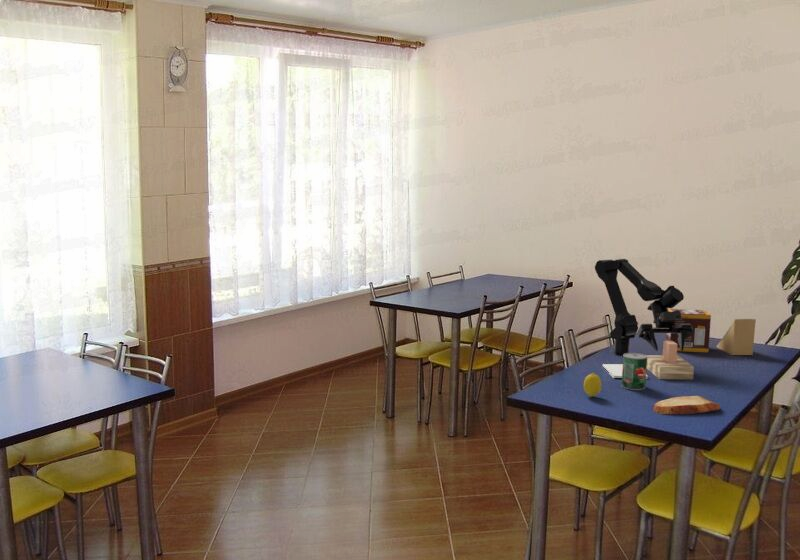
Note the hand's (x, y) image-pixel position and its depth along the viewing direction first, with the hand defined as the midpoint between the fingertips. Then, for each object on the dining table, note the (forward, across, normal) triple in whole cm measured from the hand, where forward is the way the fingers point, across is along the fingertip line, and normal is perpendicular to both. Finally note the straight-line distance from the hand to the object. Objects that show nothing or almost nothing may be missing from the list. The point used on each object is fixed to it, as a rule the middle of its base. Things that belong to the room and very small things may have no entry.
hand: (669, 350), depth 283 cm
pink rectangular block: (+5, 0, +4) cm, 6 cm away
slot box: (+6, 0, +5) cm, 8 cm away
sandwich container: (-18, +38, +30) cm, 52 cm away
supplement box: (-20, +20, +32) cm, 43 cm away
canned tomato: (+19, -18, -7) cm, 27 cm away
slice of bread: (+36, -9, -23) cm, 44 cm away
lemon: (+28, -35, -16) cm, 47 cm away
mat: (+6, -16, +5) cm, 18 cm away
